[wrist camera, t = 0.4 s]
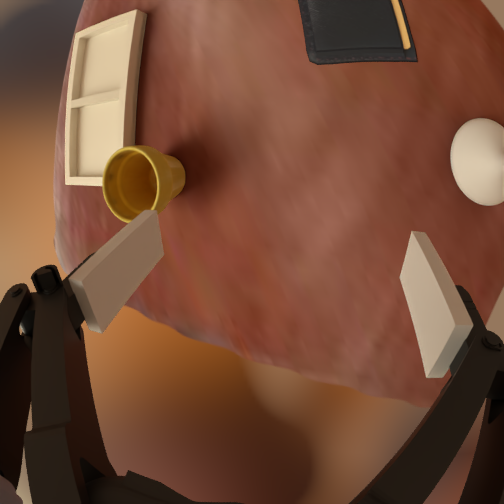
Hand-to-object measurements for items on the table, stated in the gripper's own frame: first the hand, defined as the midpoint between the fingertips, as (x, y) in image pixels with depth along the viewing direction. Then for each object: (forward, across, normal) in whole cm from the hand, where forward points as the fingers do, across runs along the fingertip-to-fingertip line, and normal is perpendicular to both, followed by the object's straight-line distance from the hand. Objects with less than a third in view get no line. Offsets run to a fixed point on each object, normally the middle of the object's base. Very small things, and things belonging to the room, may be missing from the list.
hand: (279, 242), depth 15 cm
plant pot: (+28, -20, -6) cm, 36 cm away
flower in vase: (+24, +26, +2) cm, 35 cm away
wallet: (+31, +6, +21) cm, 38 cm away
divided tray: (+33, -35, +8) cm, 49 cm away
